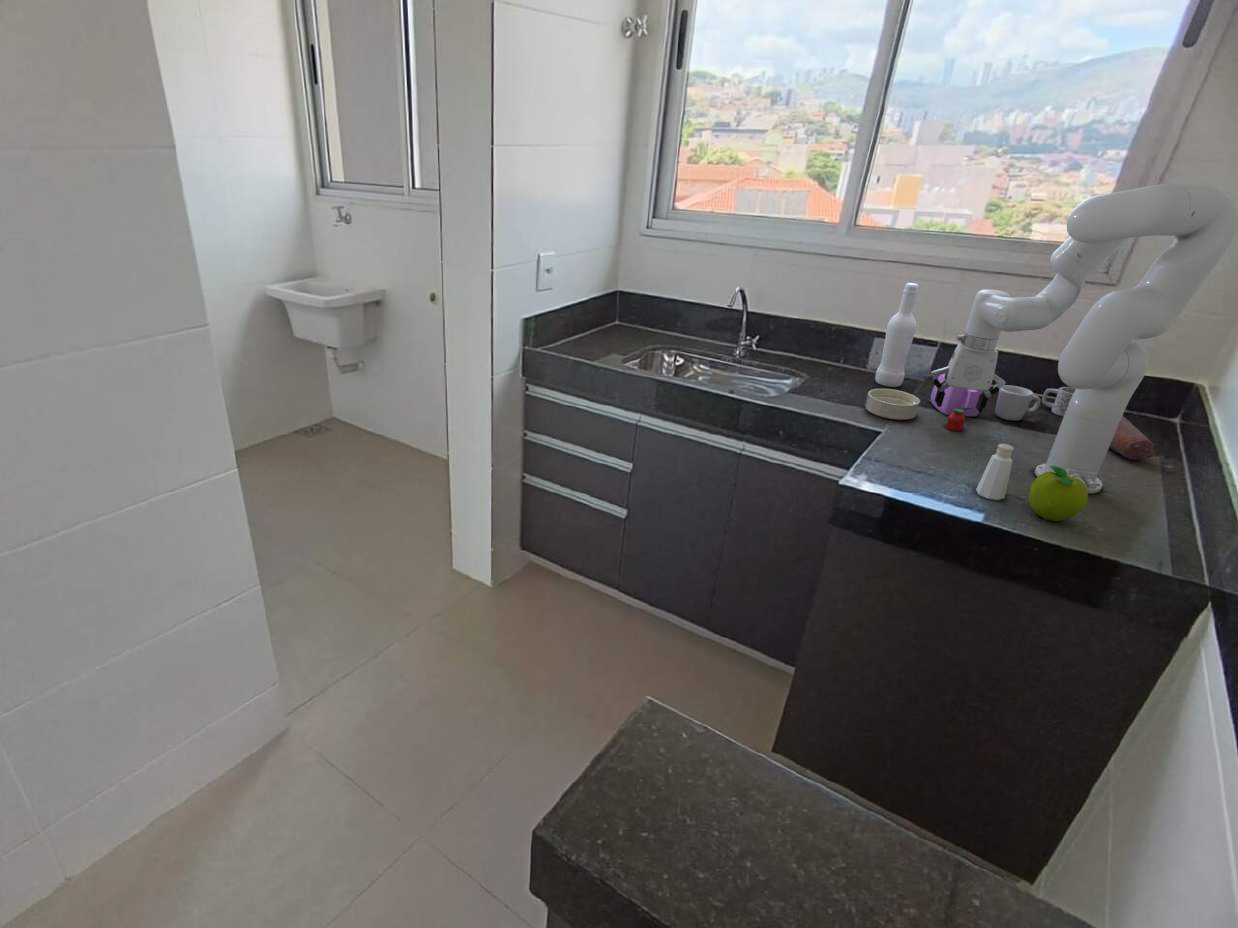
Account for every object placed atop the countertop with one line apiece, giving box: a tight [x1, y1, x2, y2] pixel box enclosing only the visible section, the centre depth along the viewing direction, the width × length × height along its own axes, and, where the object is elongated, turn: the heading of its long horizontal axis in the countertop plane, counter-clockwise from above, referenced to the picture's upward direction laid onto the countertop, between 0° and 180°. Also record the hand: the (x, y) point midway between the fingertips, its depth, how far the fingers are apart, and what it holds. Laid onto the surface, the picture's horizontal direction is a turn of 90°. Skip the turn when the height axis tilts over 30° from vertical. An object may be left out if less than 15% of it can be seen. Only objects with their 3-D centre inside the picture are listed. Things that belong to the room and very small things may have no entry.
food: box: [1109, 415, 1156, 461], centre depth 162 cm, size 21×9×9 cm, turn 1°
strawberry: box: [945, 409, 966, 432], centre depth 168 cm, size 4×4×5 cm
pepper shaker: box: [975, 443, 1015, 501], centre depth 134 cm, size 5×5×11 cm
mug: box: [1041, 386, 1076, 418], centre depth 184 cm, size 10×7×7 cm, turn 42°
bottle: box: [874, 282, 919, 388], centre depth 194 cm, size 8×8×30 cm
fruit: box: [1028, 466, 1089, 522], centre depth 126 cm, size 9×9×10 cm
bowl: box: [864, 388, 921, 421], centre depth 176 cm, size 13×13×4 cm
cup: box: [994, 384, 1041, 422], centre depth 177 cm, size 11×8×8 cm
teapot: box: [930, 374, 982, 417], centre depth 181 cm, size 18×10×10 cm, turn 178°
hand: (958, 407), depth 167 cm, fingers open, 9 cm apart
